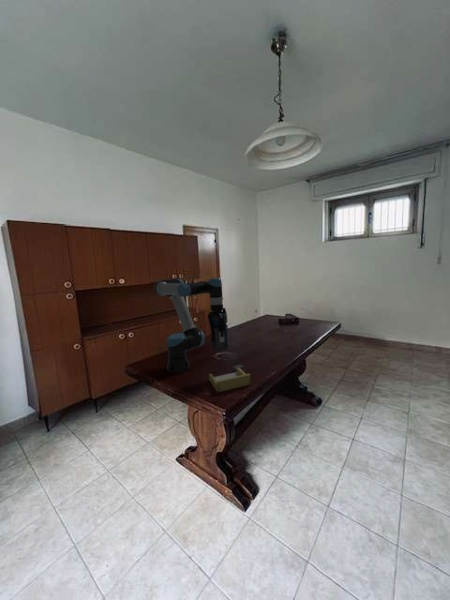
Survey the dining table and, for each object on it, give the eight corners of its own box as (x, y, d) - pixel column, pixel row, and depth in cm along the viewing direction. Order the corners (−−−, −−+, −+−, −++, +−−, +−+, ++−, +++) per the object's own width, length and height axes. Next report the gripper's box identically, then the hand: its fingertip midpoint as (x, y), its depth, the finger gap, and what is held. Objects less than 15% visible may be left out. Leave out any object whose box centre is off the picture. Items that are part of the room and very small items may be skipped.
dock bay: (217, 392, 135) (217, 382, 134) (209, 380, 150) (208, 370, 149) (250, 384, 142) (250, 374, 141) (239, 373, 157) (239, 364, 156)
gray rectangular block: (236, 373, 158) (236, 368, 157) (232, 371, 161) (232, 366, 160) (243, 370, 161) (243, 366, 160) (240, 368, 164) (240, 364, 164)
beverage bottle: (206, 350, 152) (203, 310, 148) (222, 344, 161) (220, 307, 157) (216, 354, 145) (213, 312, 141) (233, 348, 153) (230, 308, 149)
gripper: (229, 305, 140) (231, 343, 143) (216, 300, 161) (218, 334, 164) (217, 307, 137) (219, 345, 140) (205, 302, 158) (207, 335, 161)
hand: (218, 339), depth 152 cm, fingers closed on beverage bottle, 10 cm apart
